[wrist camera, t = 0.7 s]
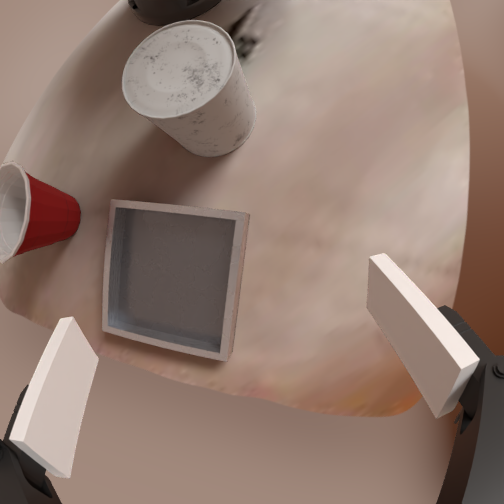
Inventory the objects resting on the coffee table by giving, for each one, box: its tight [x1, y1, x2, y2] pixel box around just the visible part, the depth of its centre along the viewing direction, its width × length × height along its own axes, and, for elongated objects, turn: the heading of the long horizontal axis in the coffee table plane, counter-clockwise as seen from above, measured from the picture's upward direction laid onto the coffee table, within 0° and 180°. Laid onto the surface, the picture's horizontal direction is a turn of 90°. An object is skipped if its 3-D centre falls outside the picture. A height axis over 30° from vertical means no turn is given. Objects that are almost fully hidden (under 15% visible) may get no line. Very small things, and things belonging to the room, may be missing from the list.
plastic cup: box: [0, 161, 81, 263], centre depth 30 cm, size 11×11×12 cm
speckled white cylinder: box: [122, 20, 256, 157], centre depth 26 cm, size 10×10×12 cm
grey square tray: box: [102, 199, 250, 362], centre depth 32 cm, size 15×15×3 cm
